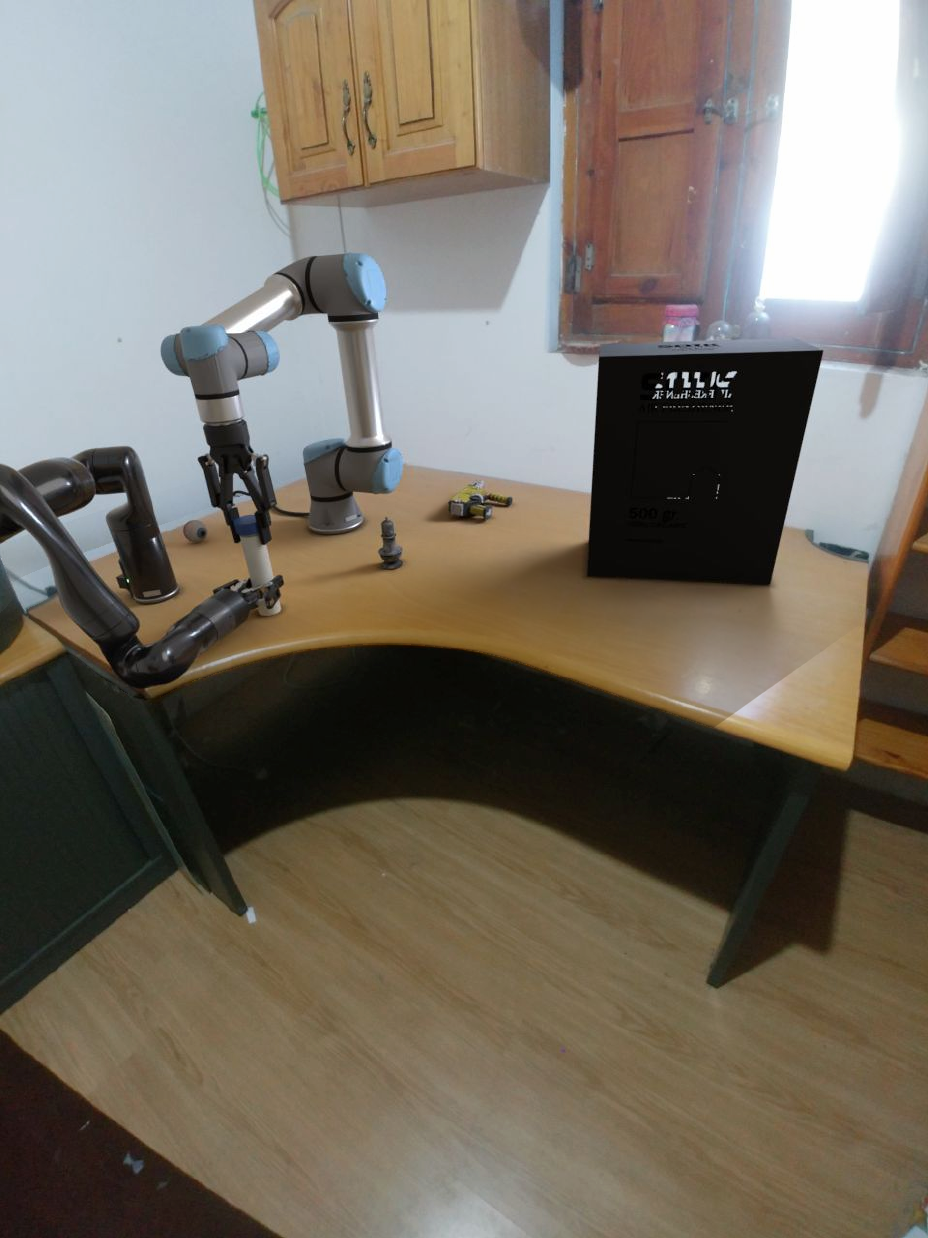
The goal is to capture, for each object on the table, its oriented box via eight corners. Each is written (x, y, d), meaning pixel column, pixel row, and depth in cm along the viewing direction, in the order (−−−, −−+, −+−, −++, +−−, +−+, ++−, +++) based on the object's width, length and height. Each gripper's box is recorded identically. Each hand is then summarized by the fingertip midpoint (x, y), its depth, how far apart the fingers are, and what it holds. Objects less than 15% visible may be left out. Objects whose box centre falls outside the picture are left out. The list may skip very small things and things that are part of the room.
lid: (240, 538, 115) (237, 526, 114) (232, 530, 119) (229, 518, 118) (268, 531, 118) (266, 519, 116) (260, 523, 122) (257, 512, 121)
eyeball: (196, 547, 160) (190, 526, 157) (181, 543, 163) (175, 522, 160) (215, 539, 164) (209, 518, 161) (200, 536, 167) (194, 515, 164)
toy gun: (520, 484, 182) (474, 477, 186) (498, 508, 162) (446, 499, 166) (519, 500, 184) (473, 492, 188) (497, 524, 164) (445, 516, 168)
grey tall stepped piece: (400, 569, 141) (394, 521, 135) (376, 568, 143) (369, 520, 137) (407, 559, 146) (402, 512, 140) (384, 558, 147) (378, 511, 141)
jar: (285, 609, 128) (265, 521, 118) (267, 618, 125) (245, 529, 115) (272, 603, 130) (252, 517, 120) (254, 612, 127) (232, 524, 117)
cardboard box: (751, 546, 143) (793, 337, 120) (770, 584, 126) (823, 350, 103) (589, 540, 150) (600, 343, 128) (586, 576, 133) (598, 356, 111)
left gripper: (244, 603, 109) (297, 564, 122) (181, 595, 113) (238, 558, 127) (254, 639, 112) (303, 597, 126) (192, 629, 117) (247, 589, 130)
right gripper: (280, 416, 109) (304, 536, 121) (192, 416, 113) (223, 532, 125) (258, 425, 103) (285, 551, 114) (166, 425, 107) (201, 546, 119)
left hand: (270, 577), depth 126 cm, fingers closed on jar, 4 cm apart
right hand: (253, 541), depth 119 cm, fingers closed on lid, 5 cm apart
